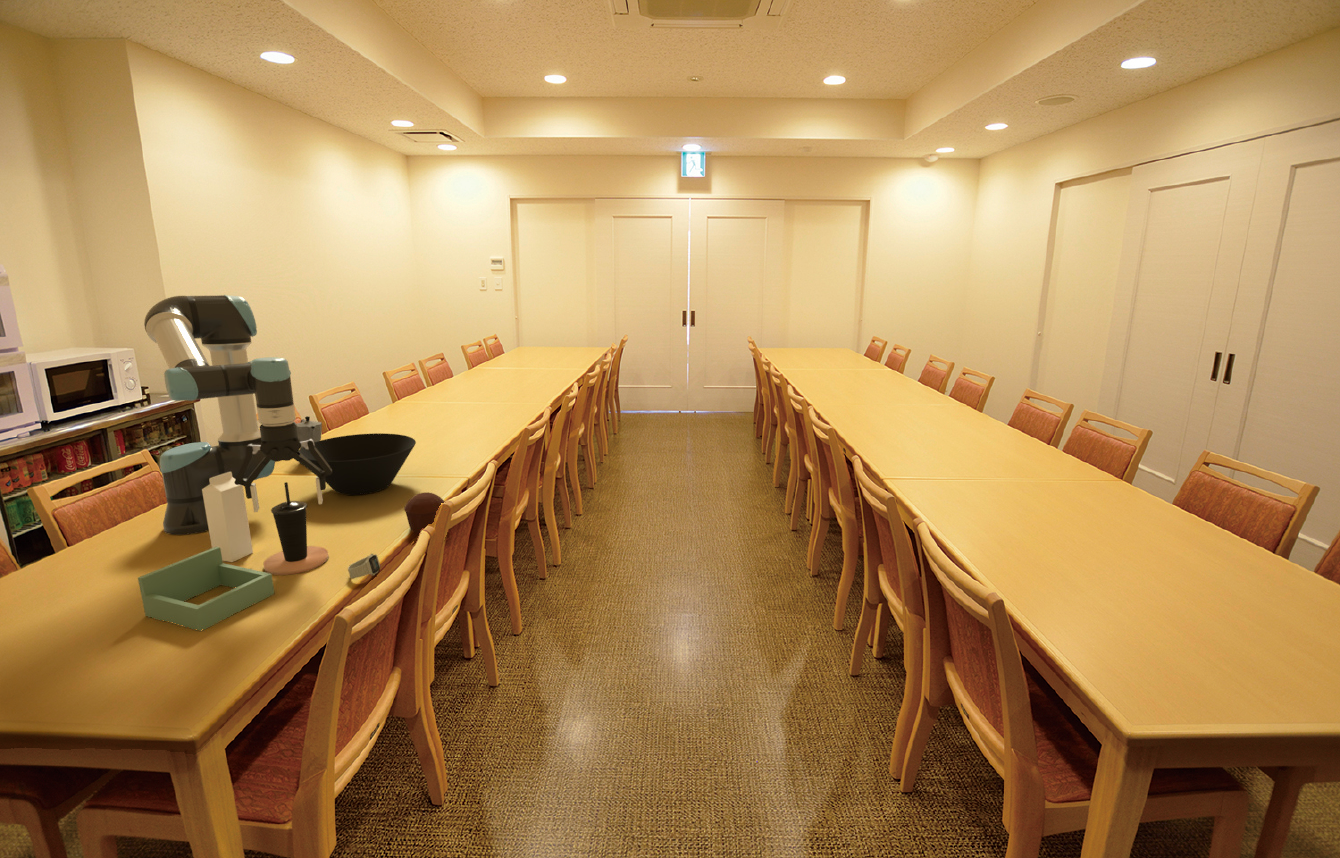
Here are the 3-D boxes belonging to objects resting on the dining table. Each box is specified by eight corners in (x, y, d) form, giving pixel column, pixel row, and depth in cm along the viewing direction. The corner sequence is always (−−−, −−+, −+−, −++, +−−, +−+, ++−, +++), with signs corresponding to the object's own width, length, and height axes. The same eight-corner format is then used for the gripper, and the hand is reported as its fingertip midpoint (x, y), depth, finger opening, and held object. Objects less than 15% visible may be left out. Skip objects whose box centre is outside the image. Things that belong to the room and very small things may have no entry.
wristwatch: (367, 582, 146) (365, 563, 145) (341, 582, 146) (339, 562, 145) (386, 565, 155) (384, 547, 154) (361, 564, 155) (359, 546, 154)
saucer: (250, 569, 151) (249, 565, 151) (300, 547, 164) (299, 542, 164) (293, 579, 147) (292, 574, 147) (341, 555, 160) (340, 550, 160)
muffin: (406, 522, 182) (403, 490, 179) (445, 517, 186) (443, 486, 184) (406, 537, 171) (403, 504, 169) (448, 532, 175) (446, 499, 173)
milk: (213, 559, 156) (198, 477, 151) (235, 550, 162) (221, 470, 157) (232, 562, 155) (218, 479, 150) (254, 552, 161) (240, 472, 155)
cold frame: (145, 616, 130) (137, 577, 128) (222, 581, 145) (216, 546, 143) (200, 631, 125) (193, 591, 123) (274, 593, 140) (269, 557, 138)
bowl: (364, 513, 188) (358, 466, 185) (277, 498, 199) (271, 454, 196) (441, 479, 221) (437, 438, 218) (362, 468, 232) (358, 429, 229)
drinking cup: (297, 566, 151) (286, 489, 146) (270, 562, 152) (259, 486, 148) (320, 553, 158) (311, 479, 153) (295, 549, 160) (285, 476, 155)
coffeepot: (331, 462, 238) (326, 417, 234) (304, 467, 232) (298, 421, 227) (319, 454, 249) (314, 411, 244) (293, 458, 242) (287, 414, 238)
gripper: (211, 431, 138) (225, 519, 143) (336, 421, 149) (345, 504, 154) (217, 423, 145) (231, 508, 150) (337, 415, 156) (346, 494, 161)
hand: (289, 506), depth 152 cm, fingers open, 13 cm apart
